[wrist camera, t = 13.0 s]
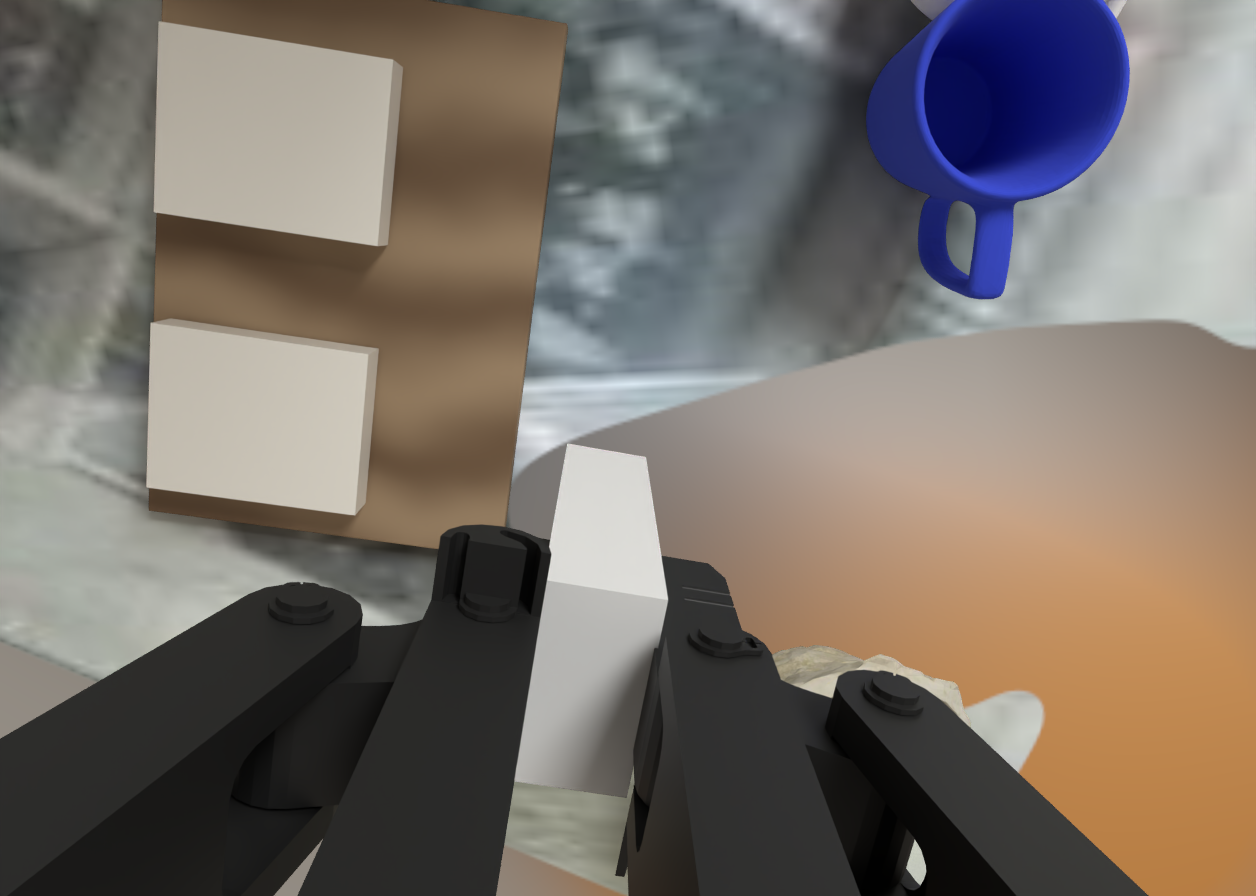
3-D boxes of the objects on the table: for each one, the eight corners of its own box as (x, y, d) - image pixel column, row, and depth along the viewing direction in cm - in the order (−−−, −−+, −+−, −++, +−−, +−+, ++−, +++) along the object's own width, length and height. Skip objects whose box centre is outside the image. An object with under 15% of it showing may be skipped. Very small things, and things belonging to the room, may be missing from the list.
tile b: (379, 348, 44) (172, 318, 44) (368, 354, 42) (150, 322, 42) (366, 502, 46) (167, 475, 46) (354, 515, 44) (146, 487, 44)
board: (176, -37, 41) (163, -45, 40) (568, 29, 42) (567, 23, 41) (159, 503, 47) (148, 510, 46) (503, 549, 48) (500, 557, 47)
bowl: (784, 863, 53) (823, 1005, 44) (624, 707, 51) (628, 821, 41) (985, 707, 51) (1074, 820, 42) (830, 535, 49) (886, 613, 39)
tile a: (403, 68, 41) (181, 31, 41) (393, 59, 39) (158, 20, 39) (388, 245, 43) (175, 212, 43) (377, 246, 41) (153, 212, 41)
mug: (832, 283, 45) (893, 299, 36) (852, 22, 42) (926, -37, 33) (993, 287, 46) (1098, 304, 36) (1025, 28, 43) (1149, -29, 33)
